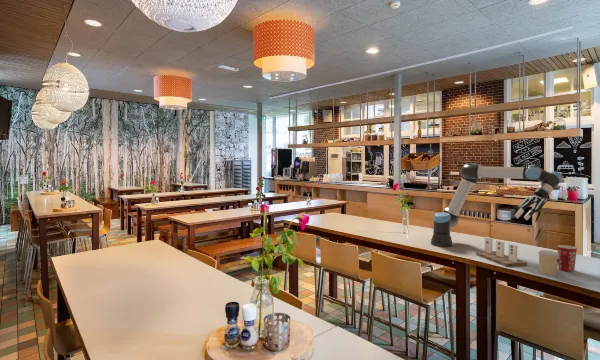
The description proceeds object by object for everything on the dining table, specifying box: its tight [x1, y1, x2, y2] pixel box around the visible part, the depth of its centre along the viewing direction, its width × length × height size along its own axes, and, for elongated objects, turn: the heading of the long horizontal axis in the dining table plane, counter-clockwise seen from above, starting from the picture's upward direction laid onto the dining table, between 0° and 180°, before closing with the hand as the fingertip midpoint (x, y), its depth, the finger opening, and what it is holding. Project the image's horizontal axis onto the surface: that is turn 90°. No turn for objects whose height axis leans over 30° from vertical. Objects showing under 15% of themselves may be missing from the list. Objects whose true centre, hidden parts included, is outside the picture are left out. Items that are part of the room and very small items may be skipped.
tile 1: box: [484, 236, 493, 254], centre depth 227 cm, size 5×2×10 cm, turn 11°
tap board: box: [475, 250, 528, 268], centre depth 217 cm, size 26×14×2 cm, turn 11°
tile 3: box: [507, 243, 519, 262], centre depth 207 cm, size 5×2×10 cm, turn 11°
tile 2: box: [495, 239, 505, 258], centre depth 217 cm, size 5×2×10 cm, turn 11°
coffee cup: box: [538, 249, 559, 277], centre depth 191 cm, size 9×9×12 cm
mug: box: [556, 244, 578, 273], centre depth 195 cm, size 13×9×14 cm
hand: (520, 217), depth 219 cm, fingers open, 6 cm apart
